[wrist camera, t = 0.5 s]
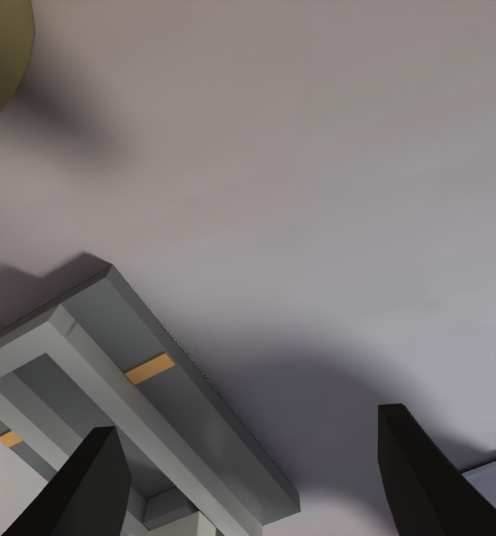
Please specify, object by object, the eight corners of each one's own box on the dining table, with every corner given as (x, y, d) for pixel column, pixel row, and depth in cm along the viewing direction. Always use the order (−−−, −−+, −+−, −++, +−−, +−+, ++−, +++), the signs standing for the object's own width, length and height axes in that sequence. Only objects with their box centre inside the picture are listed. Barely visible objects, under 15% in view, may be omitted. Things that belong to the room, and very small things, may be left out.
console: (298, 493, 28) (303, 534, 26) (151, 550, 31) (143, 592, 29) (112, 264, 22) (96, 293, 19) (-56, 363, 24) (-89, 398, 22)
